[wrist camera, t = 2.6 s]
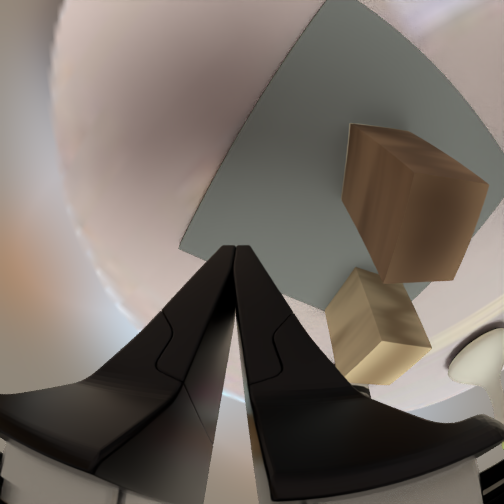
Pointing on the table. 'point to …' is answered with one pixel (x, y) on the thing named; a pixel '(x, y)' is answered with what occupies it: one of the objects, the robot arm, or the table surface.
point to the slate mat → (331, 151)
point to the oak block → (374, 330)
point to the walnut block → (409, 203)
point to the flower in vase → (483, 368)
